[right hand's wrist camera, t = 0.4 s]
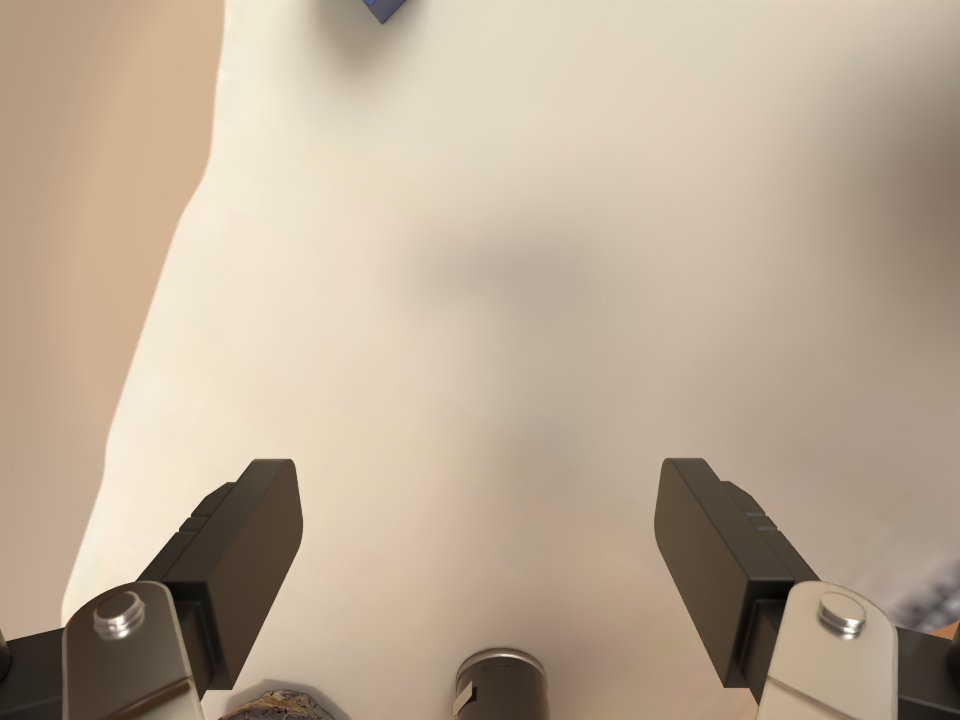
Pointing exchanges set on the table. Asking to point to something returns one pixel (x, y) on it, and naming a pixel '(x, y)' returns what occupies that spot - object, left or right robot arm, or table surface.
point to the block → (383, 8)
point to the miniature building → (280, 708)
